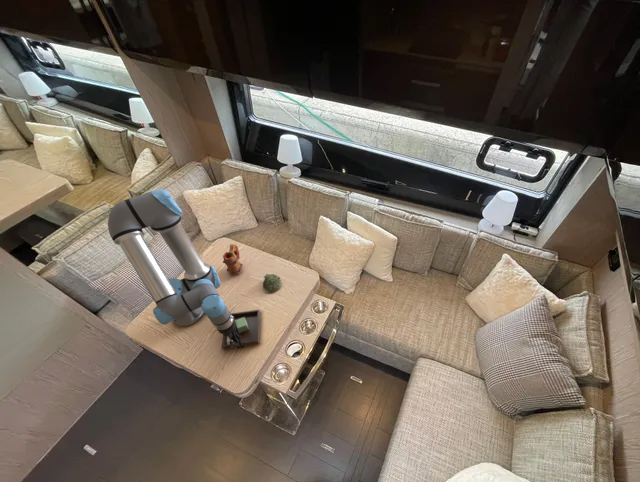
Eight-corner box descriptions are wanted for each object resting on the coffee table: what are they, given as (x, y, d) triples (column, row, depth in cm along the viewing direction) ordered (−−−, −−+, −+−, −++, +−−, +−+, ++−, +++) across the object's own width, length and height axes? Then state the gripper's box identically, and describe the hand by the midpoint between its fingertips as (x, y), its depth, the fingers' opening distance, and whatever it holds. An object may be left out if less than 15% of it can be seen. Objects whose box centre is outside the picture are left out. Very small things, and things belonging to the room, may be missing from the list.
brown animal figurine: (240, 277, 160) (233, 260, 149) (226, 277, 160) (217, 260, 149) (247, 259, 170) (240, 241, 158) (234, 258, 169) (226, 241, 158)
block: (238, 333, 137) (235, 328, 133) (236, 325, 139) (233, 320, 136) (248, 329, 138) (246, 325, 134) (246, 321, 141) (244, 316, 137)
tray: (223, 349, 132) (221, 346, 130) (227, 317, 143) (225, 314, 141) (259, 343, 134) (258, 340, 132) (260, 312, 146) (259, 309, 143)
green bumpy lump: (270, 293, 151) (261, 277, 149) (264, 294, 157) (256, 279, 155) (285, 285, 158) (277, 269, 156) (279, 286, 163) (271, 271, 161)
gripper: (232, 335, 110) (248, 358, 128) (235, 307, 118) (249, 332, 136) (212, 338, 109) (231, 361, 127) (216, 310, 117) (233, 335, 135)
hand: (240, 346), depth 131 cm, fingers closed
